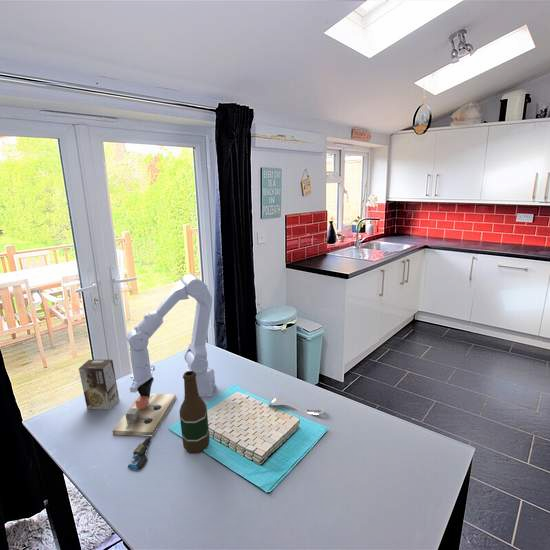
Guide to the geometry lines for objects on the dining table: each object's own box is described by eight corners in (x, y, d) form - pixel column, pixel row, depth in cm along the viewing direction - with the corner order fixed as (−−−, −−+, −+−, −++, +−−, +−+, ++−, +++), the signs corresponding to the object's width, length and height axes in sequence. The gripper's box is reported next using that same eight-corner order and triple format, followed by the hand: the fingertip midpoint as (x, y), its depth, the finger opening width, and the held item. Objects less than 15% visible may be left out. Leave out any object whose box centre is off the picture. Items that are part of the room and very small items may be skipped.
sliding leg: (159, 404, 124) (158, 396, 124) (156, 409, 122) (155, 401, 121) (140, 403, 125) (139, 395, 124) (136, 408, 122) (135, 401, 121)
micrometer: (139, 467, 98) (122, 464, 99) (140, 472, 99) (123, 470, 100) (160, 436, 109) (145, 434, 110) (161, 441, 110) (146, 439, 111)
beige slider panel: (176, 397, 131) (174, 385, 130) (152, 436, 112) (150, 422, 111) (141, 396, 132) (140, 384, 131) (113, 434, 113) (110, 420, 112)
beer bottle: (215, 440, 109) (208, 369, 103) (199, 458, 102) (191, 383, 96) (194, 433, 112) (186, 364, 106) (177, 450, 106) (168, 377, 99)
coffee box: (120, 399, 131) (113, 359, 127) (110, 410, 125) (103, 368, 121) (96, 398, 132) (89, 358, 128) (85, 409, 126) (77, 368, 122)
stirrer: (326, 401, 120) (322, 409, 116) (326, 410, 121) (323, 419, 117) (270, 393, 128) (265, 401, 123) (271, 402, 129) (266, 410, 124)
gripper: (139, 353, 130) (144, 386, 133) (118, 374, 116) (124, 411, 119) (158, 353, 129) (162, 387, 132) (139, 375, 115) (145, 412, 119)
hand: (145, 398), depth 126 cm, fingers closed
